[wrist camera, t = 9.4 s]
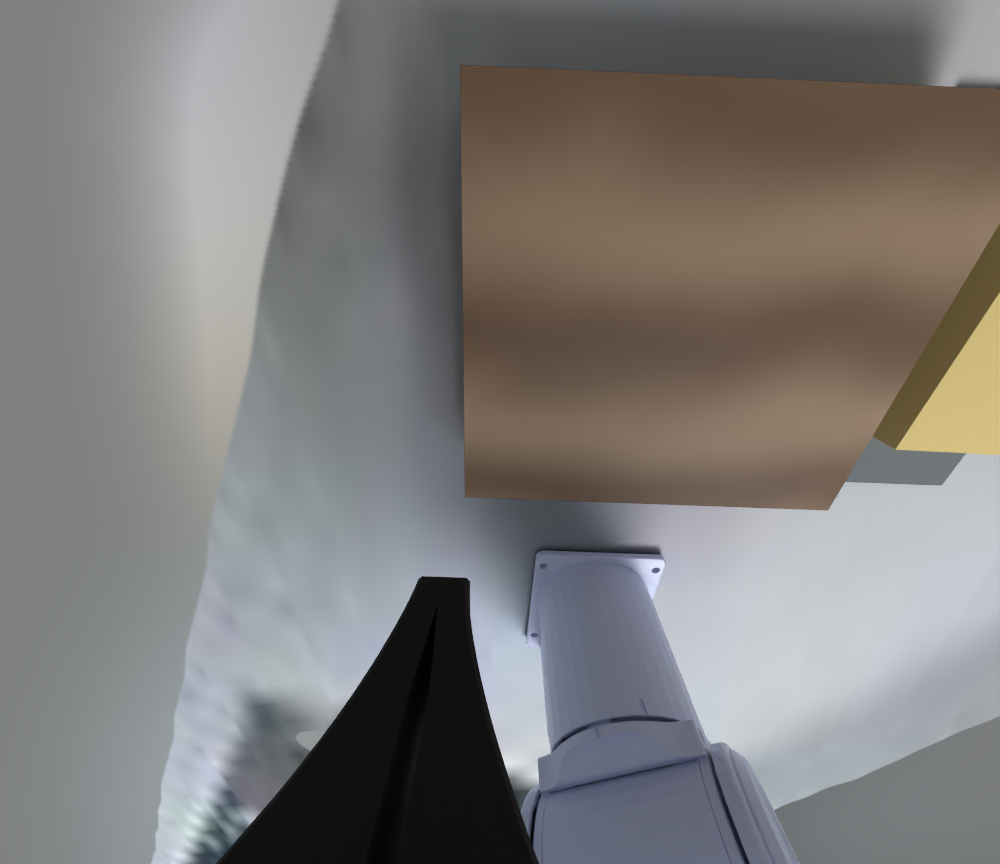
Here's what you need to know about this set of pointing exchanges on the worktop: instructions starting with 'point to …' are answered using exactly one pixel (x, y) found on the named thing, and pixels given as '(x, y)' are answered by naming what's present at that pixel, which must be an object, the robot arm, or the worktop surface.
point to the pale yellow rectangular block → (955, 374)
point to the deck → (704, 276)
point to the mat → (902, 465)
